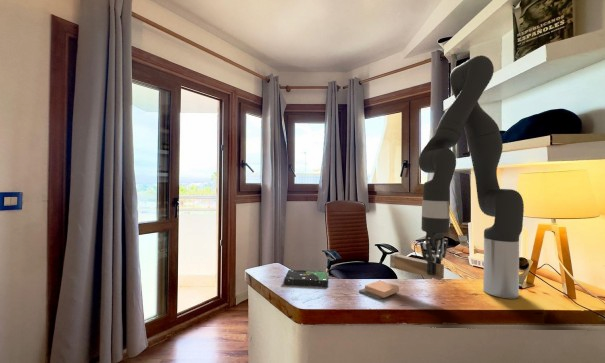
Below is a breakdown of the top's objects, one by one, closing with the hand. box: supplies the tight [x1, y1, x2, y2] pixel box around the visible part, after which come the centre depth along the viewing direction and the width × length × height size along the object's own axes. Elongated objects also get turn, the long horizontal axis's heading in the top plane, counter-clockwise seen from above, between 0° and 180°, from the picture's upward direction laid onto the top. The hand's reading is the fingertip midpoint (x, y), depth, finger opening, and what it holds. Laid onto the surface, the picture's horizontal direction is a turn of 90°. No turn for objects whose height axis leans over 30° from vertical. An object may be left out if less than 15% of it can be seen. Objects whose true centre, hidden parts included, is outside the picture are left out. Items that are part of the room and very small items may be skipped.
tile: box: [364, 280, 400, 299], centre depth 88 cm, size 8×2×7 cm
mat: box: [358, 287, 384, 301], centre depth 89 cm, size 10×7×1 cm
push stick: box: [389, 253, 445, 281], centre depth 89 cm, size 3×16×4 cm, turn 41°
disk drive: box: [283, 269, 330, 288], centre depth 99 cm, size 10×3×15 cm
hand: (434, 273), depth 84 cm, fingers closed on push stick, 3 cm apart
